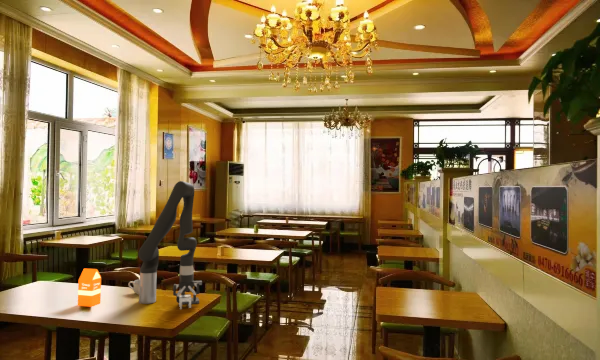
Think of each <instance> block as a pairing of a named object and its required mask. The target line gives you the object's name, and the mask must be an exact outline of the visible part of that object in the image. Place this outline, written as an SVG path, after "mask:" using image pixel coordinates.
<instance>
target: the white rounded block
mask: <svg viewBox="0 0 600 360" xmlns="http://www.w3.org/2000/svg"><path fill="white" fill-rule="evenodd" d="M191 298H192V295H191V294H190V293H189V294H186V293H185V294H184V295H181V294H180V295H179V303H178V307H180V308H179V310H182V309H183V304H182V302H188V304H187V307H188V309H189V308H191V309H192V304H191Z"/></svg>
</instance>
